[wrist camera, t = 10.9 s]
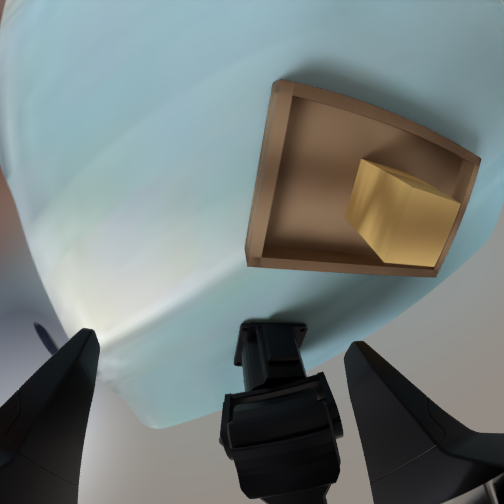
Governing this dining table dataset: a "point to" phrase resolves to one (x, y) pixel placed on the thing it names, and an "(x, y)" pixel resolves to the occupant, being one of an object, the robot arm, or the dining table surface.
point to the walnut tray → (339, 180)
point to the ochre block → (400, 215)
